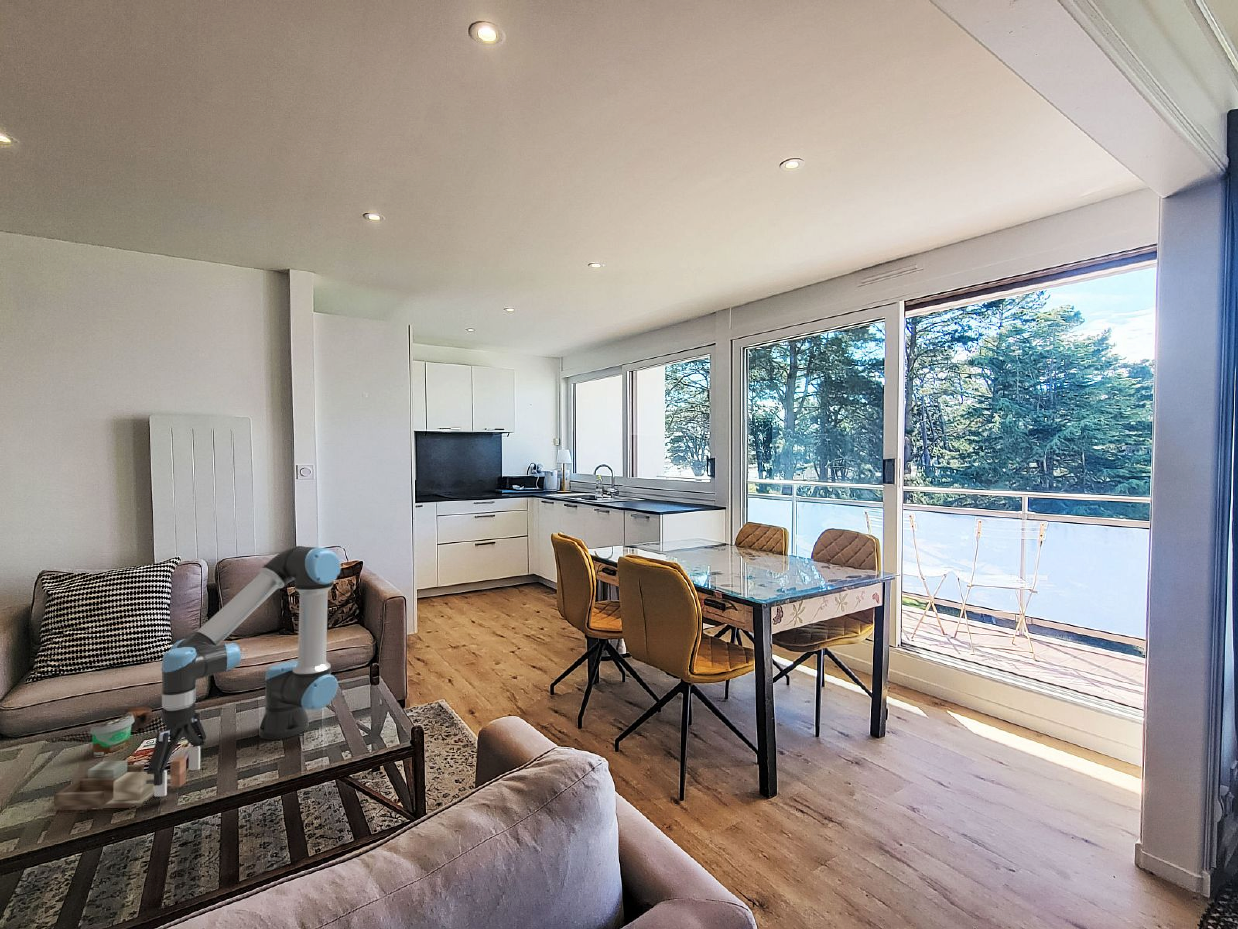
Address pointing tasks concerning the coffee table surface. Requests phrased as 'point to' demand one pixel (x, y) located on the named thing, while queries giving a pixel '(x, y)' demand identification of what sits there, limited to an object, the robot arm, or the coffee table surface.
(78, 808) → the lane rack
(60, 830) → the coffee table surface
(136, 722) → the pottery mug
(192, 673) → the robot arm
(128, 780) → the pull block
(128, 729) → the food container
